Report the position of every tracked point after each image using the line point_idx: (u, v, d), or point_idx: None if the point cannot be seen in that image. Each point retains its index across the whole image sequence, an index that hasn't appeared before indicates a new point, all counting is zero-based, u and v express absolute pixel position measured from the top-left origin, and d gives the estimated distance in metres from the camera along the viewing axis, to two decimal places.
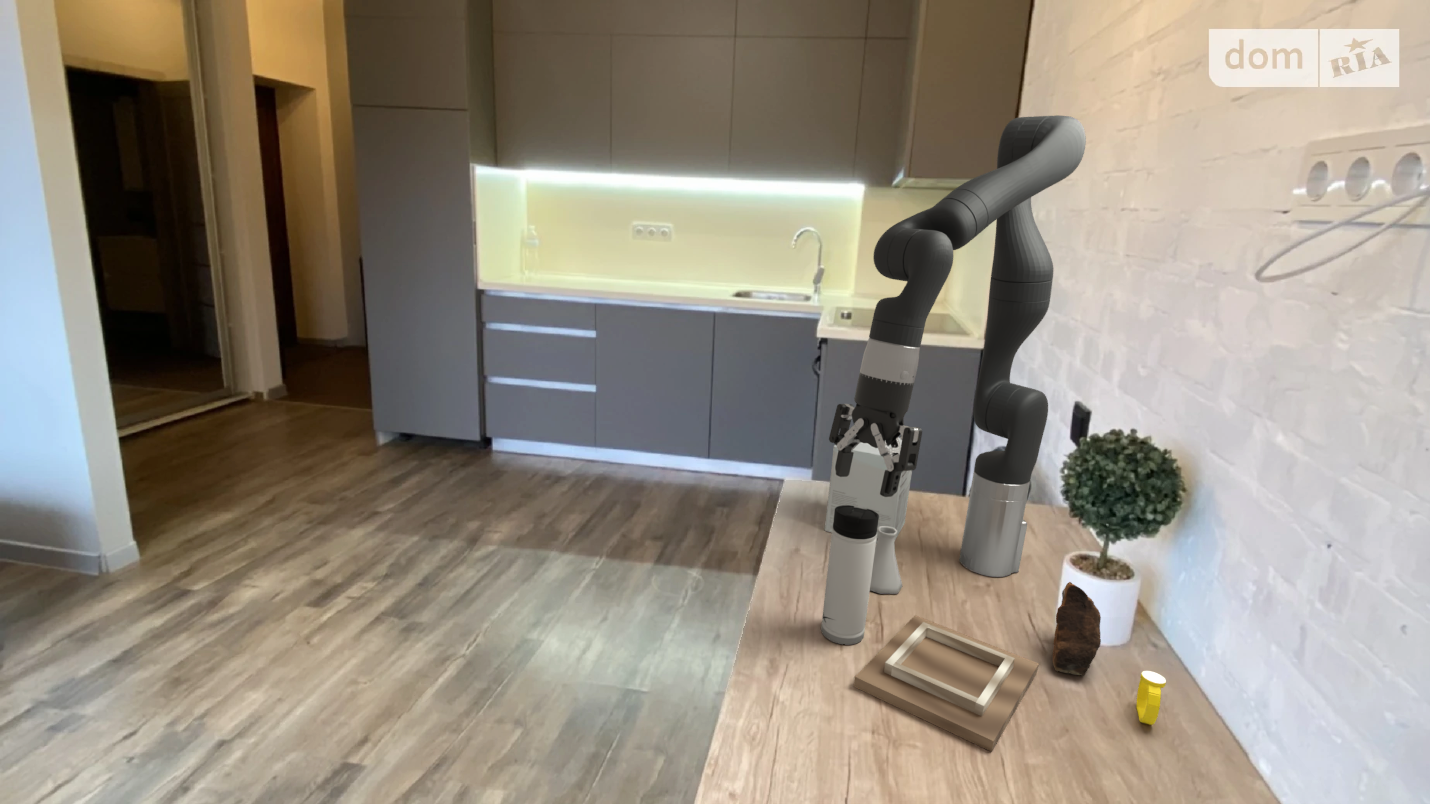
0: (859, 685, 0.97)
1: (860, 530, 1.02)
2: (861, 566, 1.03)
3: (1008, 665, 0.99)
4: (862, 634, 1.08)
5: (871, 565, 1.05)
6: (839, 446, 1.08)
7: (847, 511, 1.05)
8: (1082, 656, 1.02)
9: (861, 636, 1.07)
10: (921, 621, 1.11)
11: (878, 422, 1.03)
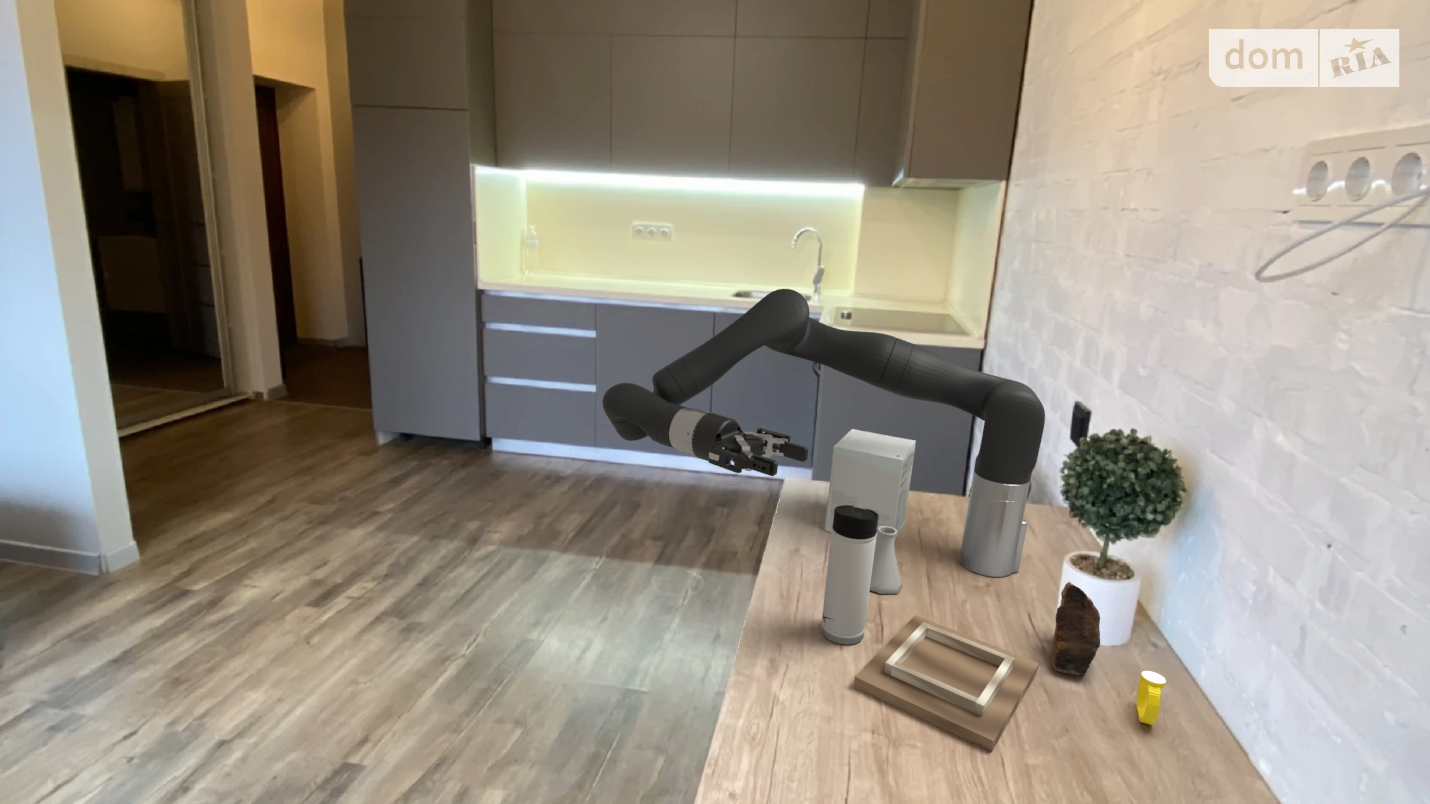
0: (859, 685, 0.97)
1: (860, 530, 1.02)
2: (861, 566, 1.03)
3: (1008, 665, 0.99)
4: (862, 634, 1.08)
5: (871, 565, 1.05)
6: None
7: (847, 512, 1.05)
8: (1081, 657, 1.02)
9: (861, 636, 1.07)
10: (921, 621, 1.11)
11: None
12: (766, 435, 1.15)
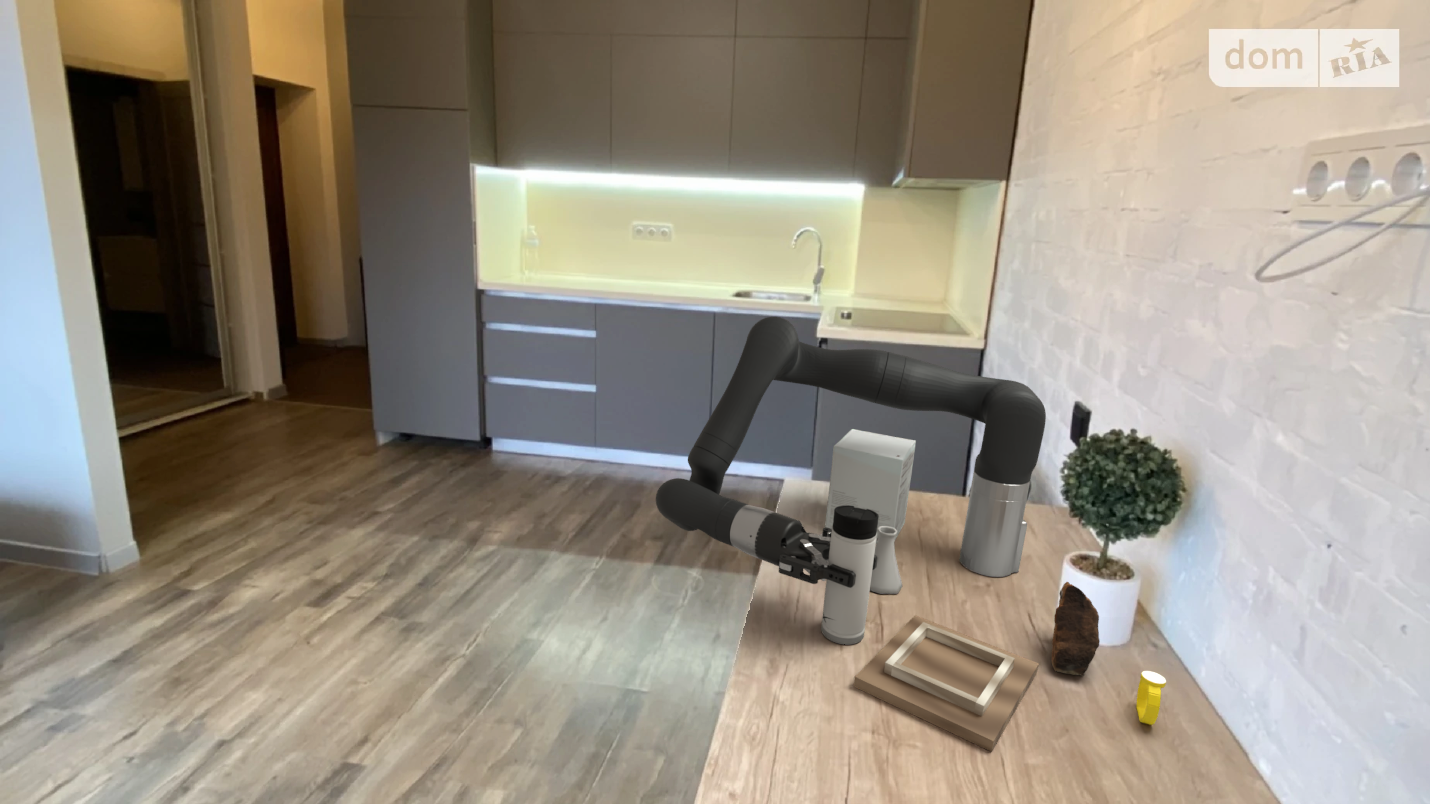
0: (859, 685, 0.97)
1: (860, 530, 1.02)
2: (861, 566, 1.03)
3: (1008, 665, 0.99)
4: (862, 634, 1.08)
5: (871, 565, 1.05)
6: None
7: (847, 512, 1.05)
8: (1081, 657, 1.02)
9: (861, 636, 1.07)
10: (921, 621, 1.11)
11: None
12: None
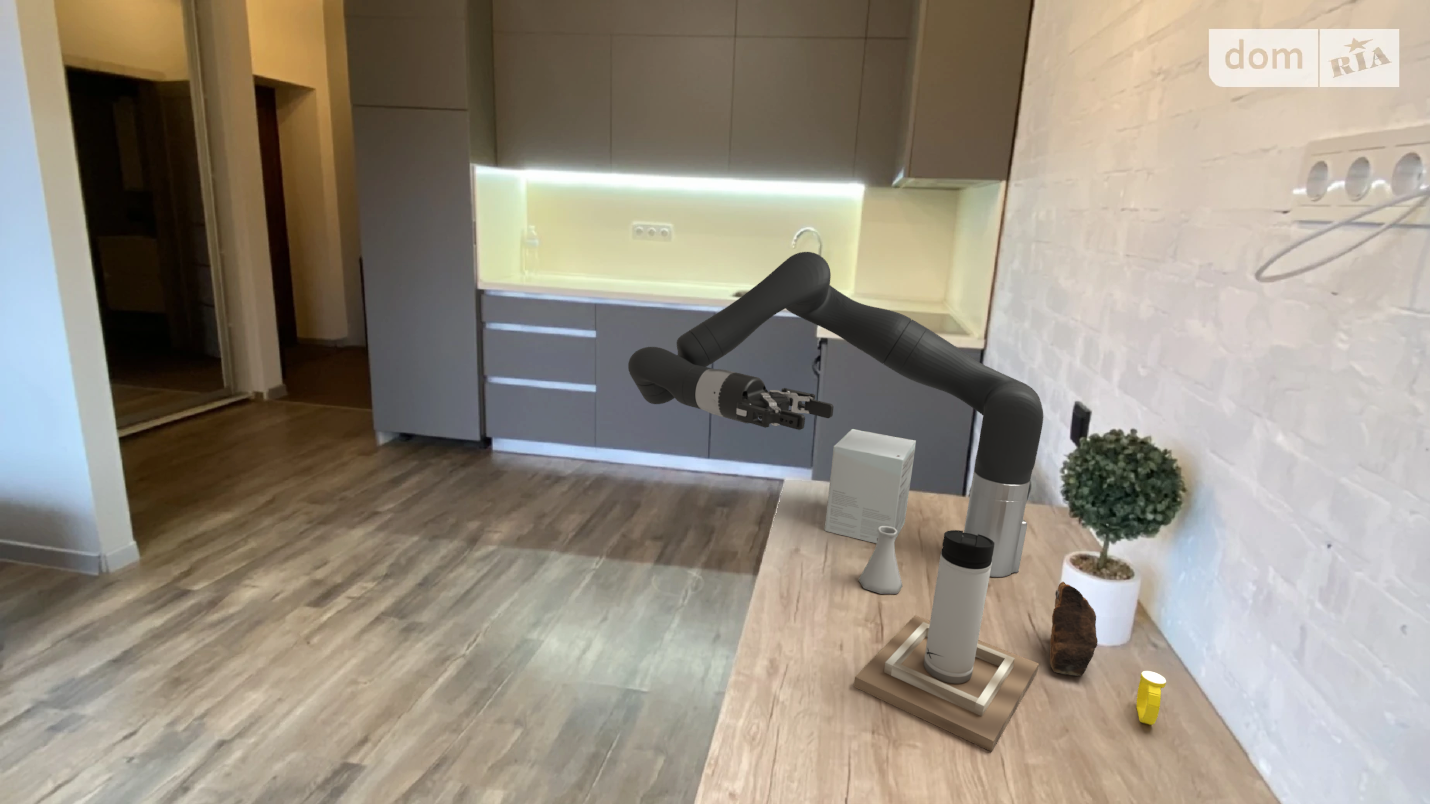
0: (859, 685, 0.97)
1: (976, 559, 0.92)
2: (975, 598, 0.94)
3: (1008, 665, 0.99)
4: (971, 672, 0.98)
5: (985, 597, 0.95)
6: (807, 413, 1.17)
7: (958, 538, 0.95)
8: (1080, 657, 1.01)
9: (970, 674, 0.98)
10: (921, 621, 1.11)
11: None
12: (791, 393, 1.17)
